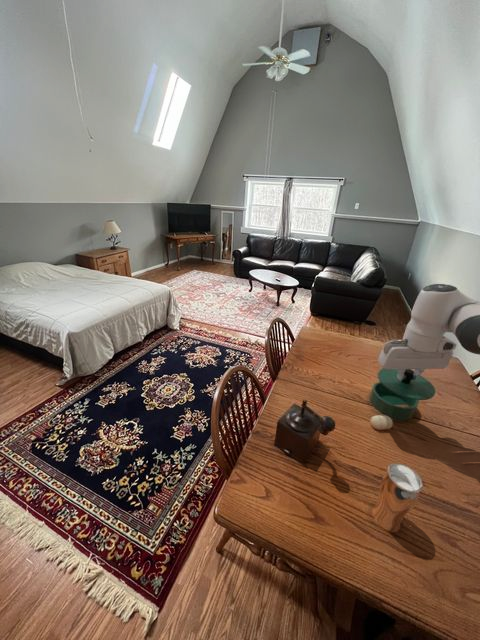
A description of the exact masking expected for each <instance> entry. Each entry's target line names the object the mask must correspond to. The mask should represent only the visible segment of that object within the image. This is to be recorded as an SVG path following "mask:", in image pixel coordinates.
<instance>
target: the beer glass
mask: <svg viewBox="0 0 480 640" xmlns="http://www.w3.org/2000/svg"><path fill="white" fill-rule="evenodd" d="M423 488H424V484H423V480H422V478H421V477H420V475H419V474H418V473H417V472H416V471H415V470H414V469H412V468H411V467H410V466H409V465H408V466H407V464H405V463H404V464H402V463H400V462H394V463H391V464H389V465H388V467H387V469H386V471H385V473H384V475H383V477H382V478H381V482H380V484H379V491H378V499H377V502H376V504H375V505H373V507H372V510H371V512H372V516H373V519H374V521H375V523H377V525H378V526H379V527H381V528H382V529H383V530H385V531H387V532H391V533H395V532H398V531H399V530H400V529H401V525H402V520H403V519H404V517H405V516H406V515H408V514H409V513H410V512H411V511H412V509H414V507H415V506H416V504H417V502H418V500H419V498H420V495H421V492H422V490H423Z"/></svg>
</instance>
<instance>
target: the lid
mask: <svg viewBox="0 0 480 640" xmlns="http://www.w3.org/2000/svg"><path fill="white" fill-rule="evenodd" d="M403 373H404V374H405V375H406V378H405V380H399V379H398V378H397V375H398V371H397V369H392V370H386V369H384V368H383V367H382V368H381V369H379V371H378V373H377V379H378V382H381V383H382V384H383V385H384V386H385V387H386V388H387V389H389V390H390V391H392V392H394V393H396V394H398V395H400V396H403V397H406V398H410V399H415V400H418V401H426V400H427V401H428V400H430V399H432V398H433V397H434V396H435V394H436V388H435V386H434V385H433V383H432V382H431V381H429V380H428V379H427V378H426V377H424V376H422V374H420V375H419V376H418V378H417V380H411V379H412V376H413V374H414V369H406V370H405V372H403Z"/></svg>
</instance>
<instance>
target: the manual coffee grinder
mask: <svg viewBox="0 0 480 640" xmlns="http://www.w3.org/2000/svg"><path fill="white" fill-rule="evenodd" d="M307 404H308V400H307V399H302V403H301V404H300V405H301V406H300V405H299V404H297V403H293V404H292V405H291V406H290V407H289V408H288V409H287V410H286V411H285V412H284V413H283V414H282V415H281V416H280V418H279V419H277V422H276V430H275V435H274V442H273V445H274V446H276V447H277V448H278V449H280V450H281V451H283V452H284V453H285V454H286V455H288V456H290V457H292V458H294V459H295V460H296V461H299V462H301V463H303V464H305V463H306V462H307V461H308V460H309V458H310V457H311V455H312V454H313V453H314V451H315V449H316V448H317V446H318V444H319V441H320V437H321V435H323V436H325V437H326V436H328V435H329V433H331V432H333V431H335V429H336V421H335V419H333V417H331V416H329V415H325V416H323V417H322V416H321V415H319V414H318V413H317V412H315V411H314V410H313V409H312V408H310V407H309V406H308V405H307Z"/></svg>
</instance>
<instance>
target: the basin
mask: <svg viewBox="0 0 480 640" xmlns="http://www.w3.org/2000/svg"><path fill="white" fill-rule="evenodd" d="M419 401H420V400H415V399H410V398H406V397H403V396H400V395H398V394H396V393H394V392H392V391H390V390H389V389H387V388H386V387H385V386H384V385H383V384H382V383H381V382H380V381H377V382H375V383H374V384H373V385H372V388H371V390H370V394H369V403H370V405H371V406H372V407H373V408H374V409H375V410H376V411H378V413H381V415H386V416H388V417H390V418H391V419H395V420H399V421H407V420H410V419H412V418H414V415H415V412H416V410H417V408H418V405H419V403H420V402H419Z"/></svg>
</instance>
